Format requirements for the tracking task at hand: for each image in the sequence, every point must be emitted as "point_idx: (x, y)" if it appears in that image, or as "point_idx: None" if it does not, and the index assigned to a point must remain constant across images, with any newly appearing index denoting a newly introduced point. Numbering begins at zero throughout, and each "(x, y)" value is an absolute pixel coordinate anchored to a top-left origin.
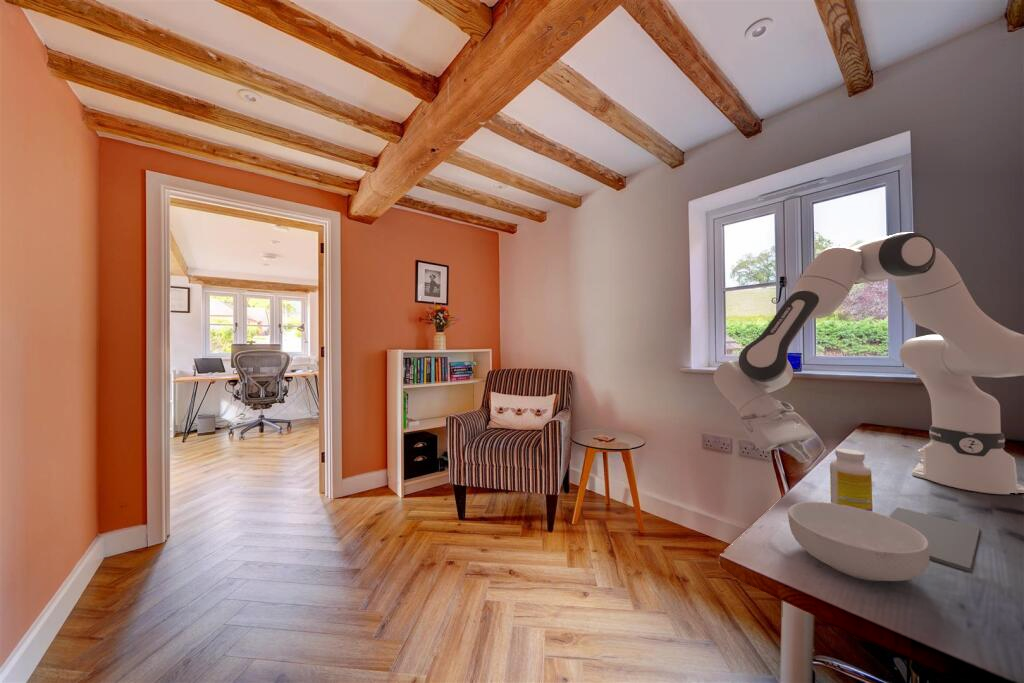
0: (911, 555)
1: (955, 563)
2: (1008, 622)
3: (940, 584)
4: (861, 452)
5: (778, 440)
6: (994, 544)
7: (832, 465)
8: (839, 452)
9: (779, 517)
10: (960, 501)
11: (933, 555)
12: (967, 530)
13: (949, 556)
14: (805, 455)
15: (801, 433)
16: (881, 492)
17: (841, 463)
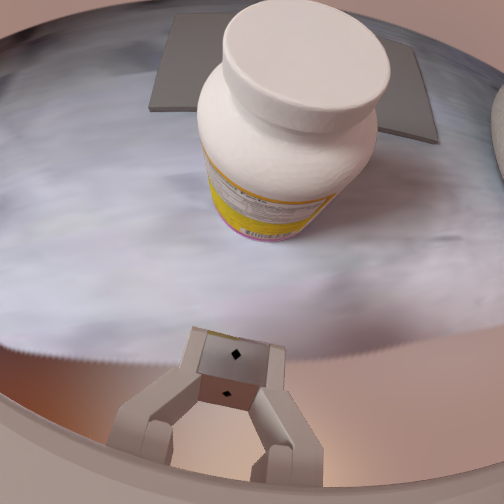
0: None
1: (413, 56)
2: (484, 64)
3: (475, 91)
4: (275, 4)
5: (465, 490)
6: (241, 8)
7: (353, 176)
8: (381, 93)
9: (471, 316)
10: (9, 71)
11: (415, 72)
12: (215, 21)
13: (395, 55)
14: (245, 356)
15: (17, 455)
16: (21, 169)
17: (360, 124)
